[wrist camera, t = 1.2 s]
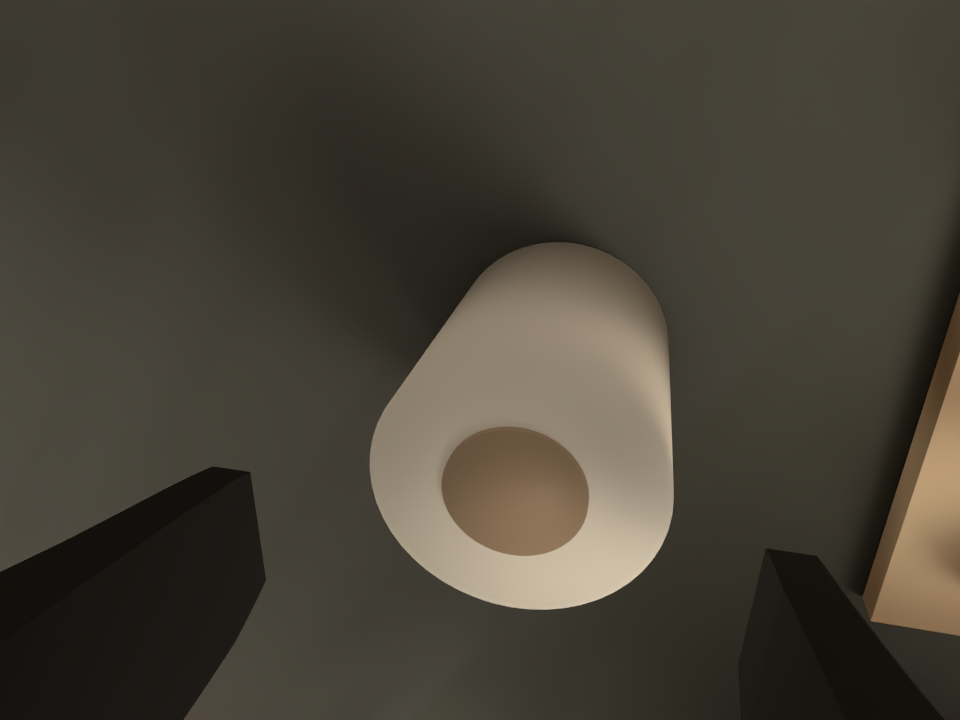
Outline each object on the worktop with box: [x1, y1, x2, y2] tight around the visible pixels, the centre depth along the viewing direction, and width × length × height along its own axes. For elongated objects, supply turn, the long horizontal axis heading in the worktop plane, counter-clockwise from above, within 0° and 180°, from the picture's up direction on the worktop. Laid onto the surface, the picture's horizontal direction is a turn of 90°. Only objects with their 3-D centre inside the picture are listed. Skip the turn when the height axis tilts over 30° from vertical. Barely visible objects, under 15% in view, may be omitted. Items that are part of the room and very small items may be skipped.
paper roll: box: [370, 242, 674, 610], centre depth 14 cm, size 5×5×6 cm
